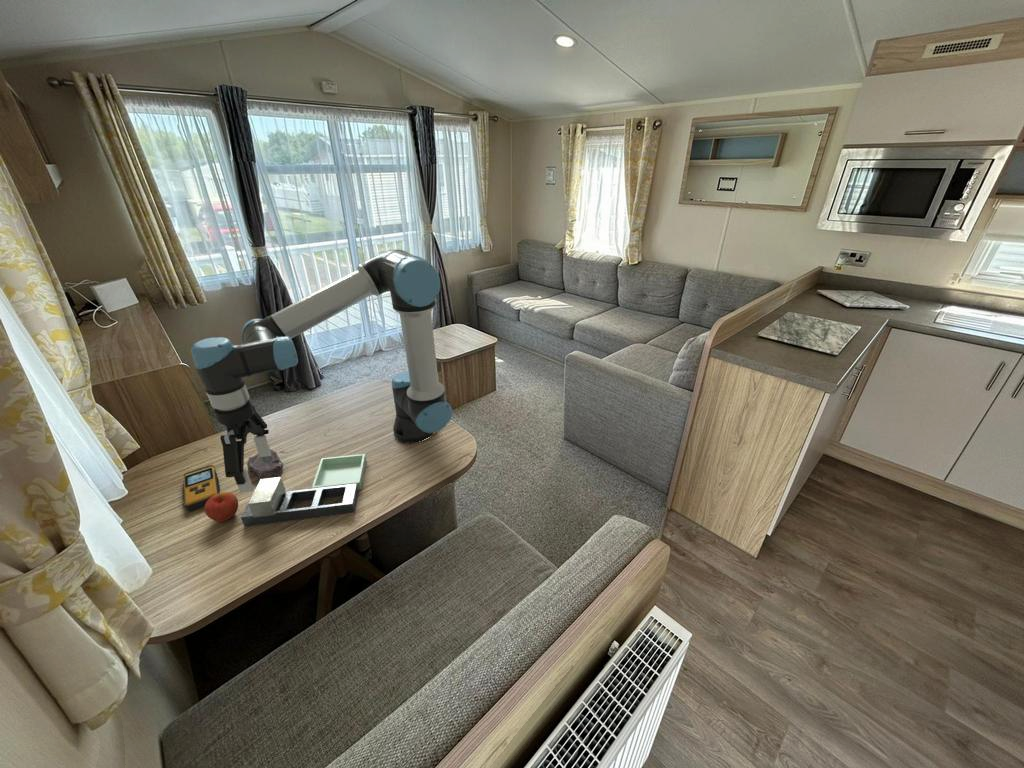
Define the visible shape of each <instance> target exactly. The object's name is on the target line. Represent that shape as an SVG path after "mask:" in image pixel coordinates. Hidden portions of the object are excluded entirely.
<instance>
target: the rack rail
mask: <svg viewBox="0 0 1024 768" xmlns="http://www.w3.org/2000/svg"><path fill="white" fill-rule="evenodd" d="M359 492H360V491H359V490H358V487H357V483H356V484H347V485H339V486H330V487H321V488H312V487H311V488H305V489H299V490H297V489H296V490H287V491H286V490H285V493H284V500H283V503H282V505H281V508H280V510H279V511H277V512H276V514H275V515H270V516H262V517H253V514H252V512H251V510H250V507H249V505H248V503H249V501H250V499H251V497H252V495H251V496H250V498H249V500H248V502H247V504H246V506H245V508H244V510H243V512H242V514H241V516H240V519H241V522H242V524H243V527H244V528H245V527H254V526H262V525H269V524H277V523H286V522H293V521H300V520H308V519H316V518H317V519H318V518H325V517H333V516H340V515H349V514H355V513H356V509H357V508H356V507H357V502H358V497H359ZM337 497H343V498H342V502H338V503H330V504H325V500H326V499H329V498H337ZM312 500H313V501H312ZM303 501H312V502H311V506H306V507H299V508H296V507H295V504H296V502H303ZM294 507H295V508H294Z"/></svg>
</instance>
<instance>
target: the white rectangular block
mask: <svg viewBox="0 0 1024 768" xmlns="http://www.w3.org/2000/svg"><path fill="white" fill-rule="evenodd" d="M285 492H286V487H285V485H284V481H283V479H282V476H278V477H276V476H274V477H267V478H260V479H259V481H258V483H257V485H256V488H254V490H253V492H252V495H251V496H252V497H251V496H250V498H251V499H250V498H249V500H250V501H249V500H248V502H249V503H248V502H247V504H248V505H249V507H250V510H251V512H252V514H253V517H262V516H270V515H275V514H276V512H277V511H279V510H280V508H281V505H282V503H283V500H284V493H285Z"/></svg>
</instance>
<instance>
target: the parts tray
mask: <svg viewBox="0 0 1024 768" xmlns="http://www.w3.org/2000/svg"><path fill="white" fill-rule="evenodd" d="M366 465H367V457H366V454H365V453H362V454H360V453H359V454H352V455H349V454H348V455H342V456H331V457H323V458H321V459H320V462H319V465H318V468H317V471H316V472H315V473H316V474H315V477H314V480H313V483H312V486H311V489H312V488H321V487H330V486H339V485H347V484H356V483H357V487H358V491H361V490H362V486H363V481H364V476H365V472H366V471H365V470H366Z"/></svg>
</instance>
